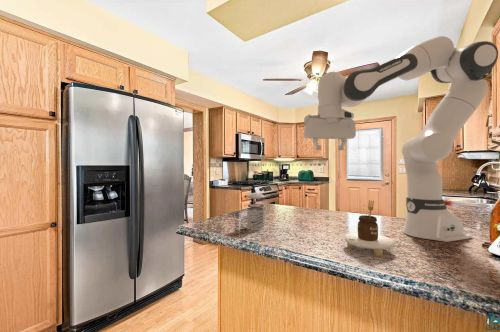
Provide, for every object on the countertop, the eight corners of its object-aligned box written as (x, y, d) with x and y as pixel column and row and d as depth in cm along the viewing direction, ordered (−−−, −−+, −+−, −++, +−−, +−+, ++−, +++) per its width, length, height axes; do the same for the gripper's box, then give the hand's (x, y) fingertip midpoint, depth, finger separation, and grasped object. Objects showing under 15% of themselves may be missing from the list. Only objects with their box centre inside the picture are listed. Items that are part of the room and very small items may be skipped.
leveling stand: (373, 241, 86) (373, 231, 86) (404, 256, 72) (404, 243, 72) (336, 243, 84) (336, 233, 84) (360, 259, 70) (360, 246, 70)
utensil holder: (354, 238, 78) (354, 201, 78) (362, 234, 82) (362, 199, 82) (374, 242, 74) (374, 203, 74) (381, 238, 78) (381, 201, 78)
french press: (241, 226, 109) (241, 170, 109) (263, 223, 114) (263, 170, 114) (250, 231, 101) (250, 171, 101) (274, 228, 105) (274, 170, 105)
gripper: (307, 112, 91) (307, 149, 91) (357, 113, 94) (358, 149, 94) (301, 116, 97) (301, 150, 97) (349, 117, 100) (349, 150, 100)
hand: (329, 150), depth 95 cm, fingers open, 8 cm apart
